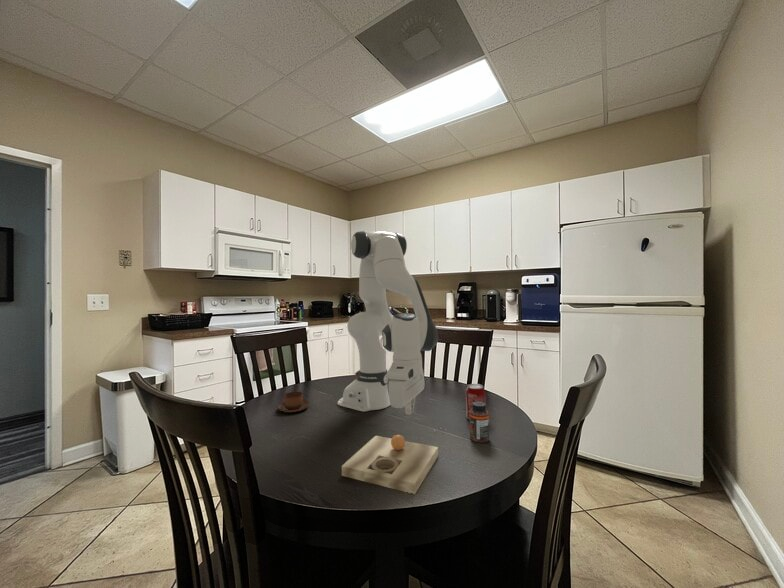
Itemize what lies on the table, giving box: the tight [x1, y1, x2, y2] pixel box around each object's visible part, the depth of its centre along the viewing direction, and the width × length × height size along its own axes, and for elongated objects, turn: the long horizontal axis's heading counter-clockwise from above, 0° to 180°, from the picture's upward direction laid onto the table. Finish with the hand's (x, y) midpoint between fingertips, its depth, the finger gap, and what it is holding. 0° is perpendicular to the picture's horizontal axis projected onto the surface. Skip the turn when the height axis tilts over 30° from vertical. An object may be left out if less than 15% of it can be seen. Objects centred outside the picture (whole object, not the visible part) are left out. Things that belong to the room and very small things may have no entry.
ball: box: [391, 434, 406, 450], centre depth 92 cm, size 4×4×4 cm
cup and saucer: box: [277, 391, 310, 413], centre depth 133 cm, size 12×12×6 cm
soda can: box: [465, 383, 486, 420], centre depth 119 cm, size 7×7×12 cm
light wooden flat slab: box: [341, 435, 439, 495], centre depth 89 cm, size 20×19×2 cm
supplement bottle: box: [469, 402, 490, 444], centre depth 103 cm, size 6×6×11 cm
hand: (409, 412), depth 99 cm, fingers closed
